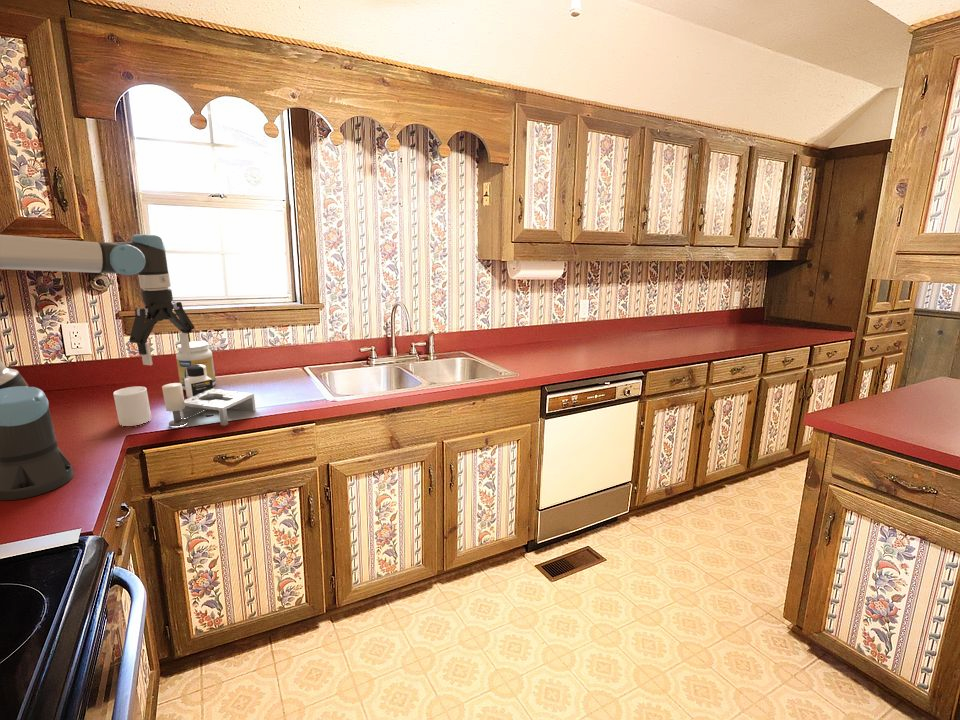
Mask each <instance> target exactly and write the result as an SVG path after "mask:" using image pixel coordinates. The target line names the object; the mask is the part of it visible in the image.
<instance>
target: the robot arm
mask: <svg viewBox="0 0 960 720" xmlns="http://www.w3.org/2000/svg"><path fill="white" fill-rule="evenodd" d="M166 252H167V251H166V246H165V243H164V239H163V237H162V235H160V234H156V233H155V234H154V233H151V234H150V233H146V234H142V233H139V234H133V235H131V239H130V241H124V242H123V241H121V242H116V241H115V242H114V241H113V242H109V241H108V242H105V241H104V242H97V241H86V240H73V239H59V238H50V237H48V238H47V237H36V236H35V237H33V236H25V235H24V236H21V235H13V234H12V235H10V234H0V270H14V271H15V270H16V271H17V270H19V271H20V270H21V271H40V272H41V271H43V272H45V271H46V272H67V273H68V272H69V273H70V272H71V273H73V272H74V273H96V274H117V275H122V276H134V275H136V274H137V276H138V283H139V287H140V289H142V290H141V291H140V292H141V300H142V303H143V304H144V305H145V306H144V308H141V307H136V308H135V309H134V315H135V316H134V319H133V324H132V328H131V332H130V336H129V339H128V340H129V343H133V344H137V349H138V353H139V355H141V360H142V365H144V366H152V365H153V364H154V363H153V358H152V353H151V347H150V343H149V342H147V341H148V339H149V337H150V335H151V333H152V331H153V329H154V327H155V325H156V324H157V323H158V322H162V321H163V320H168V321H169V322H171V324H172V325H174V326H175V327H176V328H177V330H179V331H180V332H178V337H179V343H180V344H181V350H182V353H186V354H190V353H191V351H190V344H189V342H191V336H190V333H192V332H193V330H194V329H195V326H194V324H193V322H192V320H191V319H190V318H189V316H188V314H187V313H186V311H185V310H184V308H183V303H182V302H181V301H174V297H173V293H172V292H173V291H172V289H171V288H170V287H171V280H170V273H169V269H168V260H167V253H166ZM173 311H174V312H175V313H174V312H173ZM49 405H50V403H49V400H48V398H47V396H46V394H45V392H44V391H43V390H42V389H40V388H39V387H35V386H29V384H28V383H27V381H26V380H25V378H24V377H23V376H22V375H21V373H20V371H19V370H17V369H15V368H9V367H7V366H6V365H5V364H4V363H3V361H2V359H0V501H13V500H23V499H27V498H32V497H37V496H40V495H43V494H46V493H48V492H51V491H53V490H56V489H58V488H60V487H62V486H64V485H66V484H67V483H68V482H70V481H71V480H72V479H73V477H74V476H75V473H74V469H73V466H72V464H71V462H70V461H69V460H68V458H67V457H66V456H65V455H64V454H63V452H62V451H61V449H60V448H59V446H58V445H59V444H58V441H57V437H56V434H55V432H56V431H55V429H54V424H53V421H52V416H51V412H50V408H49Z"/></svg>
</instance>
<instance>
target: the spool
mask: <svg viewBox="0 0 960 720" xmlns="http://www.w3.org/2000/svg"><path fill="white" fill-rule="evenodd" d="M161 388H162V394H163V401H164V406H165V410H166V412H172V417H173V420H170V421H169V422H168V427H169V426H180V425H184V424H186V423H187V422H188V418H187V419H181V413H180V410H182V409H184V408H185V401H184V400H185V396H184V389H182V384H181V383H180V382H173V383H172V382H171V383H167V384H164V385H162V386H161Z"/></svg>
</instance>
